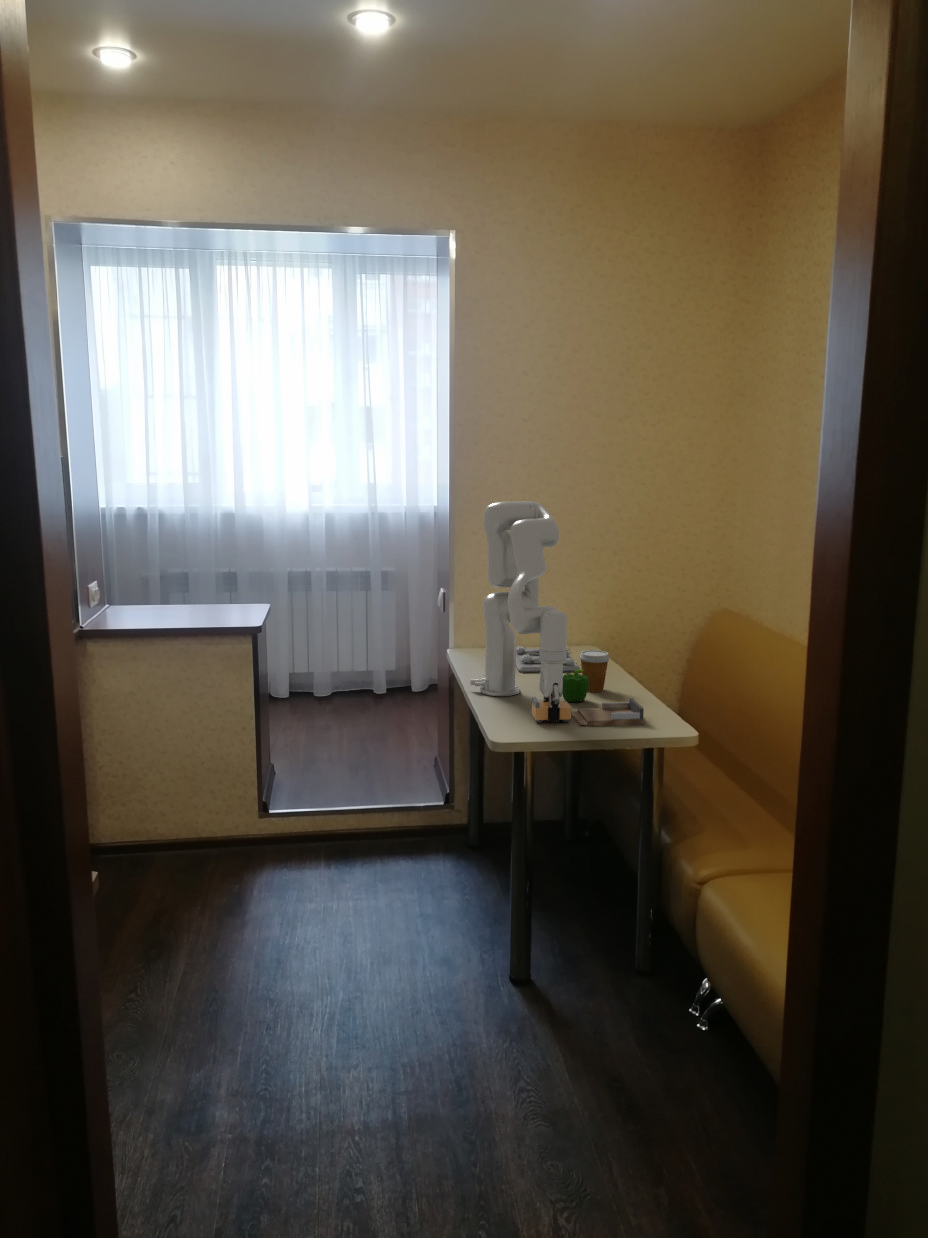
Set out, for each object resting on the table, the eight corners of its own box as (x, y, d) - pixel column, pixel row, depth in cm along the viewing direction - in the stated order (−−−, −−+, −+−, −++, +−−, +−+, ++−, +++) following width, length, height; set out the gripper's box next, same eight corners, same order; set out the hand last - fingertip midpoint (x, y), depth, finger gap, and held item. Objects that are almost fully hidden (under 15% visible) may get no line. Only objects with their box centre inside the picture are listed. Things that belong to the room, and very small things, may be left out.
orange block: (535, 724, 260) (536, 702, 259) (531, 717, 266) (532, 696, 265) (570, 723, 261) (571, 702, 260) (566, 717, 267) (566, 696, 266)
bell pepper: (554, 699, 285) (555, 667, 284) (573, 695, 290) (574, 664, 288) (573, 706, 279) (574, 673, 277) (593, 701, 284) (594, 669, 282)
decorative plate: (507, 655, 347) (507, 636, 346) (564, 654, 349) (565, 635, 348) (519, 674, 318) (519, 654, 317) (581, 673, 320) (582, 653, 318)
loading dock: (580, 726, 259) (580, 710, 258) (570, 713, 270) (571, 698, 270) (643, 724, 261) (644, 709, 260) (631, 712, 272) (632, 697, 271)
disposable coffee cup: (607, 694, 292) (609, 657, 289) (577, 692, 294) (578, 655, 291) (609, 687, 301) (610, 650, 299) (579, 685, 303) (580, 649, 300)
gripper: (534, 649, 268) (532, 709, 272) (545, 662, 252) (543, 727, 255) (559, 648, 269) (558, 708, 273) (572, 662, 252) (570, 726, 256)
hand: (551, 716), depth 264 cm, fingers closed on orange block, 6 cm apart
